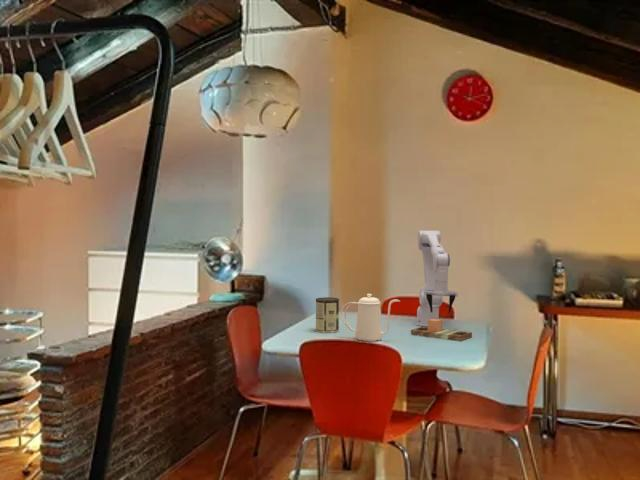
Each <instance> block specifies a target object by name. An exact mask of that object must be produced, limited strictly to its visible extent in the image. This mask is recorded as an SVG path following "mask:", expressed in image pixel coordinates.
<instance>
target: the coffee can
mask: <svg viewBox="0 0 640 480" xmlns="http://www.w3.org/2000/svg"><path fill="white" fill-rule="evenodd" d="M339 303H340V298H338V297H326V296H325V297H317V298H315V331H316V332H318V333H322V334H323V333H325V334H326V333H327V334H331V333H337V332H338V333H339V330H340V329H339V328H340V325H339V324H340V321H339V320H340V319H339V318H340V315H339V314H340V313H339V311H340V304H339Z"/></svg>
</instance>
